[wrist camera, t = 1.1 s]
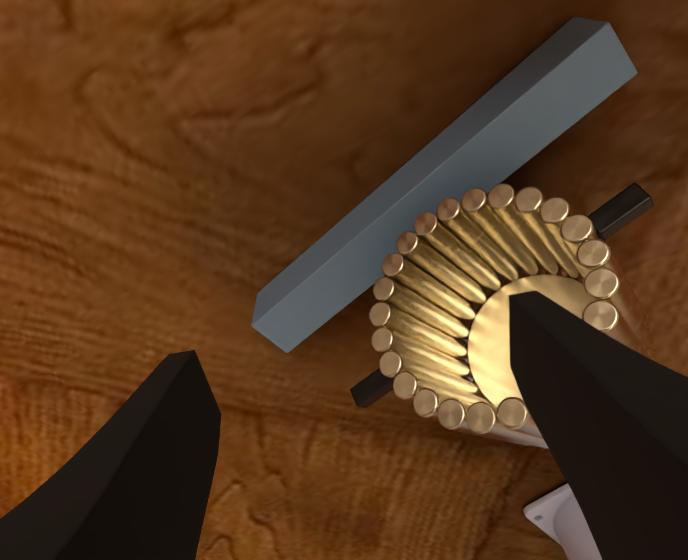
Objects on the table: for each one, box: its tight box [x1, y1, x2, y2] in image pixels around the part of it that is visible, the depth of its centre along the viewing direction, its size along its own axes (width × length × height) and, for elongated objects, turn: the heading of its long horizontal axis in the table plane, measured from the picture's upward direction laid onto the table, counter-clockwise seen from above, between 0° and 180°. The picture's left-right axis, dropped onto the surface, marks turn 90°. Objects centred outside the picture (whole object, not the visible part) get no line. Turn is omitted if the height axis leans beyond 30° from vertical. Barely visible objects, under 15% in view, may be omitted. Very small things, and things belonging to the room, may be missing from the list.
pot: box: [350, 183, 653, 449], centre depth 18 cm, size 10×11×10 cm
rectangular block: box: [251, 17, 638, 353], centre depth 20 cm, size 2×16×2 cm, turn 133°
